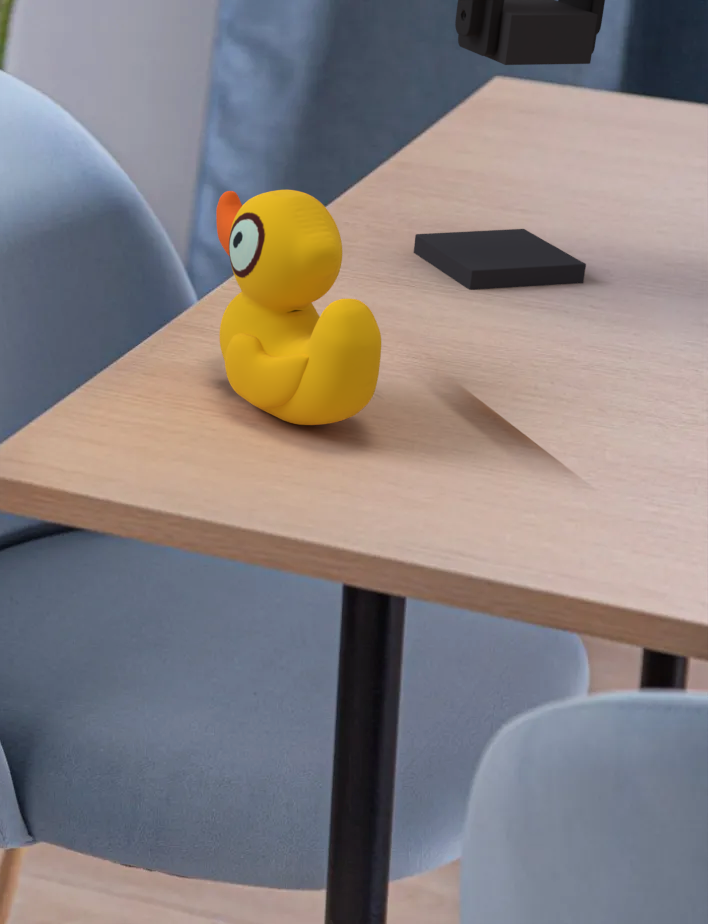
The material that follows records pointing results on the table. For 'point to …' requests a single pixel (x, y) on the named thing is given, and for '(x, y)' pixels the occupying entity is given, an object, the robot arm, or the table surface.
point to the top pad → (544, 33)
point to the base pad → (498, 259)
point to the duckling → (293, 312)
